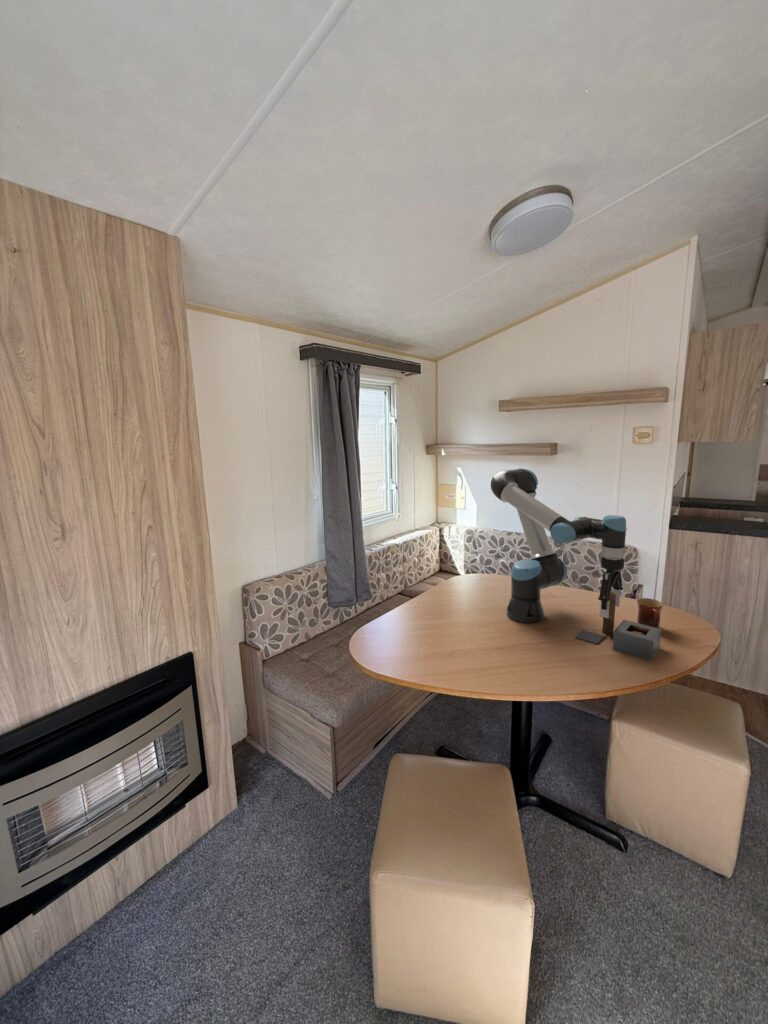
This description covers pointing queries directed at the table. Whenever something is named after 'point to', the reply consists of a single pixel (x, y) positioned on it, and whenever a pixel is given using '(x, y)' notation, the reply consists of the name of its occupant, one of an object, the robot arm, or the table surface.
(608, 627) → the brown cylinder
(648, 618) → the mug
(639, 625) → the grey hollow block
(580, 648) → the table surface
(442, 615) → the table surface
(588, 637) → the coaster
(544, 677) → the table surface
